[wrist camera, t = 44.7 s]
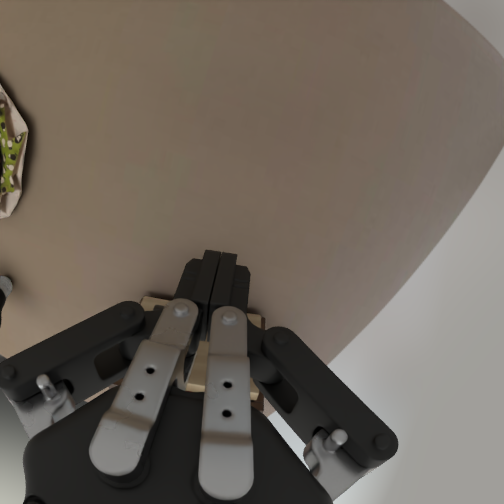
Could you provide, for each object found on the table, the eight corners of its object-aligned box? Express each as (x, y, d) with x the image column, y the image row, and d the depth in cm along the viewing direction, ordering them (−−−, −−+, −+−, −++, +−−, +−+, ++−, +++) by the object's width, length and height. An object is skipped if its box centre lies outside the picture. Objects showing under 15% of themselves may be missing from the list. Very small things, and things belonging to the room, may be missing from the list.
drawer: (141, 259, 27) (104, 331, 19) (270, 279, 27) (270, 361, 20) (152, 373, 36) (136, 433, 29) (242, 388, 37) (237, 450, 30)
